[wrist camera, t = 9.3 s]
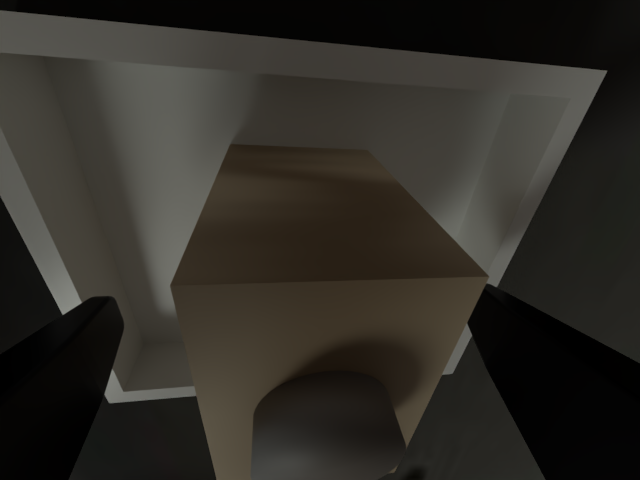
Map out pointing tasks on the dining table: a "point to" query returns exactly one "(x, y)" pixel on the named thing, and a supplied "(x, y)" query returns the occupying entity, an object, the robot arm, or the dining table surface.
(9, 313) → the dining table surface
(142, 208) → the housing tray
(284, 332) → the brown block
